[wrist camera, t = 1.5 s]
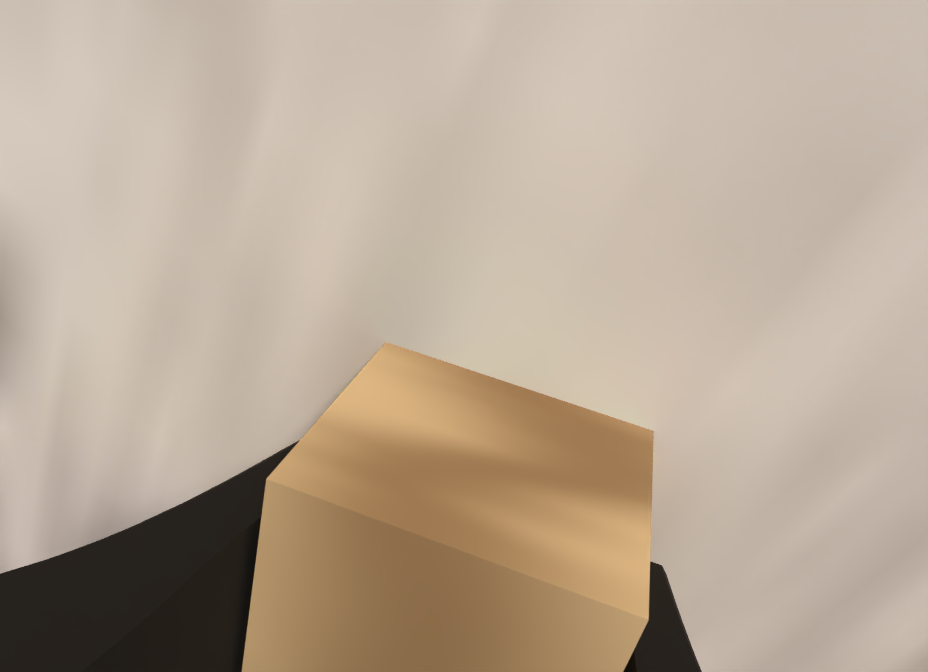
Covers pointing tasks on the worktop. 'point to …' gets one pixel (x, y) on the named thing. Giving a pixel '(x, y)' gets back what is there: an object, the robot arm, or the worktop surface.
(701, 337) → the worktop surface
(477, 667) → the oak block
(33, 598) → the robot arm
